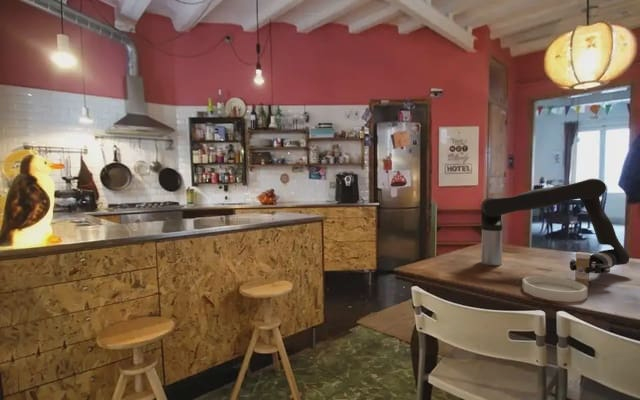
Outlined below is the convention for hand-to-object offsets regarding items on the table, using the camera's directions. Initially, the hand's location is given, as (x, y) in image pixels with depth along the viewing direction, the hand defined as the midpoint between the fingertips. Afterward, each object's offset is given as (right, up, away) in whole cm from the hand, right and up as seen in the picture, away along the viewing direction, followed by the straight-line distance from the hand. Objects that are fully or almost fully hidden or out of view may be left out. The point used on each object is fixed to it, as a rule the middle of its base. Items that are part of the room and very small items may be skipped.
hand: (579, 269), depth 141 cm
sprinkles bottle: (+2, -7, +2) cm, 8 cm away
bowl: (-13, -8, -5) cm, 16 cm away
